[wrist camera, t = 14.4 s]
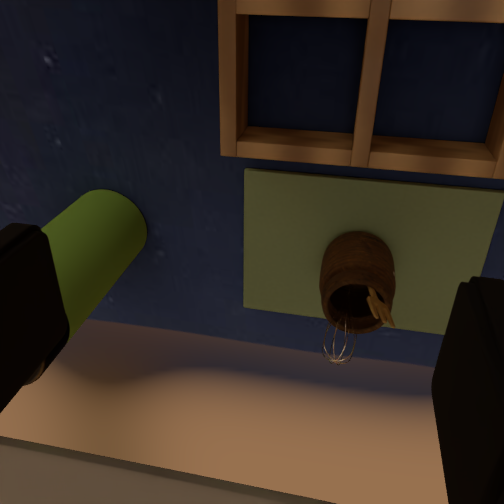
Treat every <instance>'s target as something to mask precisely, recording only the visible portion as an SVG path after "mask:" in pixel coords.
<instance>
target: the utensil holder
mask: <svg viewBox="0 0 504 504" xmlns="http://www.w3.org/2000/svg"><path fill="white" fill-rule="evenodd" d="M319 290H320V295H321V305H322V310H323V313H324V315H325V317H326V319H327V320H328V321H329V323H331V324H332V325H333V326H334V327H336V330H335V334H336V331H337V329H339V330H342V331H344V332H345V336H346V332H348V334H349V333H353V334H356V337H357V334H363V333H369V332H372V331H374V330H376V329H378V328H380V327H381V326H382V325H383V324H384V323H385V324H386V323H387V320H388V322H389V324H390V326H391V327H392V328H395V324H394V322H393V319H392V316H391V314H390V313H391V310H392V305H393V299H394V295H395V290H396V279H395V268H394V261H393V256H392V253H391V251H390V249H389V247H388V246H387V245H386V243H385V242H384V241H383V240H381V239H380V238H379V237H377V236H375V235H373V234H371V233H367V232H362V231H354V232H348V233H345V234H342V235H340V236H338V237H337V238H335V239H334V240H333V241H332V242H331V243H330V244H329V245H328V247H327V248H326V250H325V253H324V255H323V259H322V264H321V271H320V279H319ZM328 325H329V324H328ZM330 326H331V325H330ZM330 326H329V327H330ZM327 328H328V326H327ZM328 329H329V328H328ZM328 329H326V333H327V331H328ZM326 333H325V337H326ZM335 334H334V337H333V340H334V339H335ZM325 337H324V342H323V345H324V347H325ZM347 339H348V336H347ZM332 343H333V341H332ZM346 343H347V341H346ZM355 343H356V340H355ZM344 345H345V346H346V344H345V340H344ZM354 347H355V344H354V345H353V350H352V353H353V351H354ZM331 348H332V345H331ZM344 349H345V347H343V351H344ZM325 350H326V348H325ZM343 351H342V353H341V354H342V356H343ZM333 352H334V343H333ZM322 353H323V347H322ZM326 353H327V351H326ZM330 353H331V350H330ZM352 353H351V354H352ZM327 354H328V353H327ZM351 354H350V355H351ZM323 355H324V354H323ZM350 355H349V356H350ZM328 356H329V357H330V355H329V354H328ZM340 356H341V355H340ZM340 356H339V357H340ZM349 356H348V357H349ZM324 357H325V356H324ZM348 357H347V358H348ZM351 357H352V355H351ZM330 358H331V357H330ZM334 358H335V355H334ZM338 359H339V358H338ZM338 359H337V360H338ZM345 359H346V358H345ZM345 359H343V360H345ZM350 359H351V358H350ZM328 360H329V361H331V360H330V359H328ZM337 360H334V362H337ZM332 361H333V360H332ZM339 361H340V363H341V361H342V359H341V360H339ZM349 361H350V360H349ZM334 362H333V363H334ZM330 363H331V362H330ZM338 363H339V362H338ZM346 363H347V362H346ZM336 364H337V363H336ZM343 364H344V363H343ZM337 365H338V364H337Z"/></svg>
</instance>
